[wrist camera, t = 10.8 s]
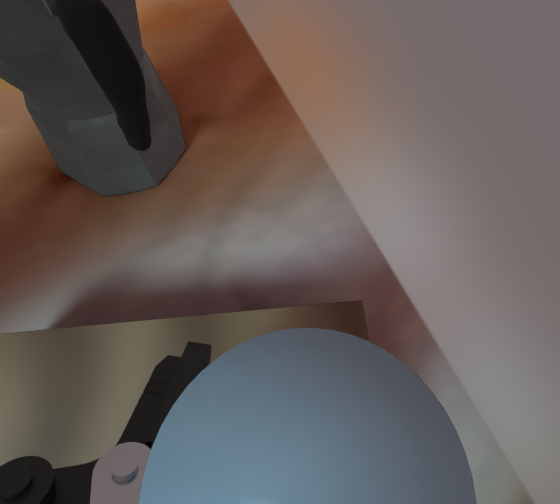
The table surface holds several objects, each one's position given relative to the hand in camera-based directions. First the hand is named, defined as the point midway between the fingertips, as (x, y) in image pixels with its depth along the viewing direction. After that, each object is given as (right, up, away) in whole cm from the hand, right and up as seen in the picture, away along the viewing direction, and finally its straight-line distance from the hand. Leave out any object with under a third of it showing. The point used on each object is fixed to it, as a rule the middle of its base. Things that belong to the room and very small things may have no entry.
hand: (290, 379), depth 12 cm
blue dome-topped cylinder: (-1, -3, +3) cm, 5 cm away
